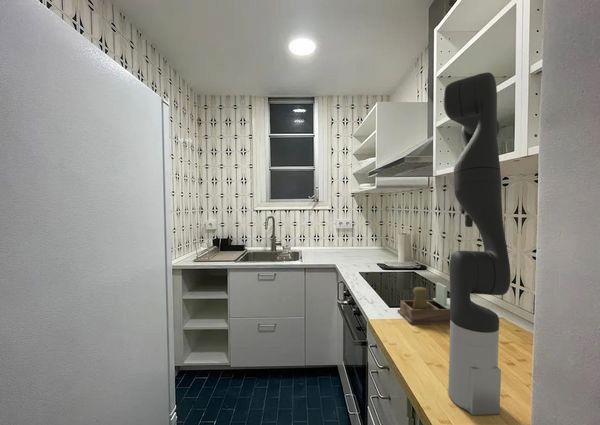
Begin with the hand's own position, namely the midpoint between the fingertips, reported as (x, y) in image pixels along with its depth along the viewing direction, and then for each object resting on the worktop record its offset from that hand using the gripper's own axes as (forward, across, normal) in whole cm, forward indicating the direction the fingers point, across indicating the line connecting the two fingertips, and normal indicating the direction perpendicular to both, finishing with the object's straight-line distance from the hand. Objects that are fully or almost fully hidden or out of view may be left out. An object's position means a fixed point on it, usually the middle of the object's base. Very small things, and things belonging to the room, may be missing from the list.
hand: (477, 227), depth 96 cm
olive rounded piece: (+35, -13, -13) cm, 39 cm away
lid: (+31, -14, 0) cm, 34 cm away
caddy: (+36, -14, -6) cm, 39 cm away
